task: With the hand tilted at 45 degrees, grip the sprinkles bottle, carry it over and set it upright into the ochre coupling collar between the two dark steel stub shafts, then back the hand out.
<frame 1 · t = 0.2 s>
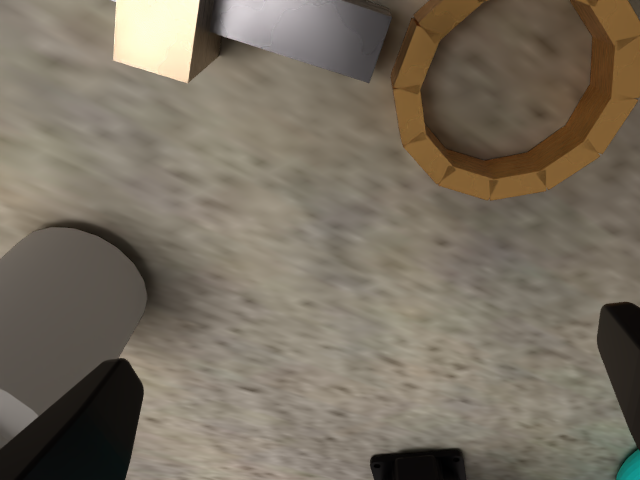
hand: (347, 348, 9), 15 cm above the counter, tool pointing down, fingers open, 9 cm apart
can: (89, 273, 28), on the counter
coupling jig: (501, 80, 20), on the counter
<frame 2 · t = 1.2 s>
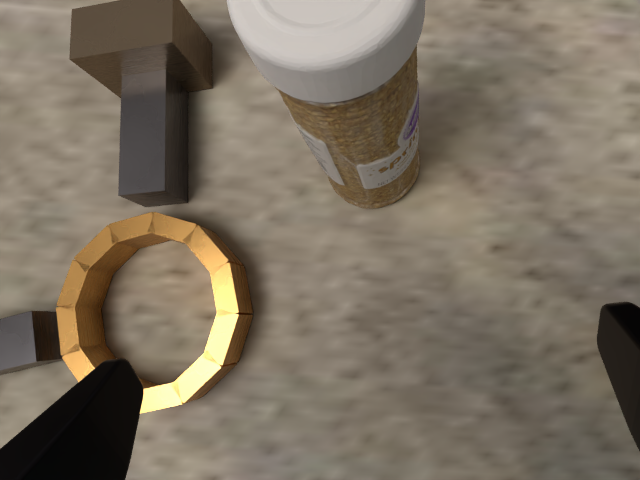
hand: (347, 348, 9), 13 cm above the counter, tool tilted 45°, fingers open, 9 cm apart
coupling jig: (165, 310, 24), on the counter
sprinkles bottle: (372, 165, 24), on the counter
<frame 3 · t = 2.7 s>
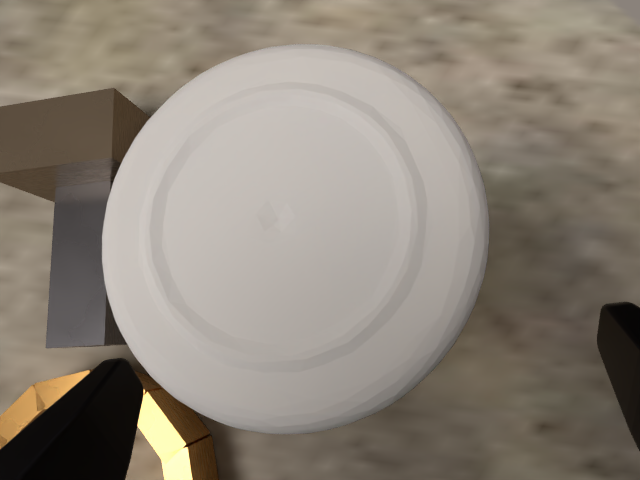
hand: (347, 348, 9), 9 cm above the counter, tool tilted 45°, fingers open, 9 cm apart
sprinkles bottle: (376, 303, 18), on the counter
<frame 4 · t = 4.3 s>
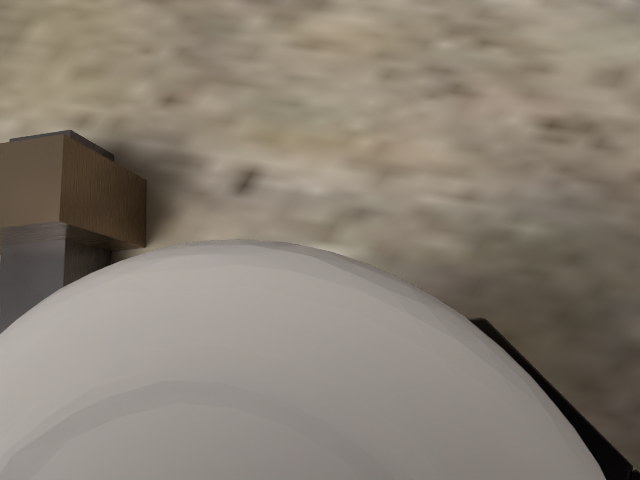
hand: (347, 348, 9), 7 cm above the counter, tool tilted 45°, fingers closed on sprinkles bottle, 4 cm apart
sprinkles bottle: (382, 385, 15), on the counter, touching gripper
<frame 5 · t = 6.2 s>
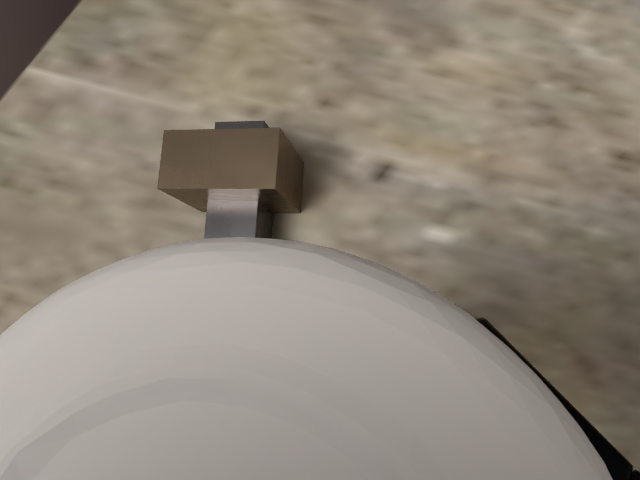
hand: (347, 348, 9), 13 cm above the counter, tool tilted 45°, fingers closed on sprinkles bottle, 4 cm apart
coupling jig: (229, 459, 22), on the counter
sprinkles bottle: (383, 384, 15), point 6 cm above the counter, touching gripper
when the fingers open (8 cm above the counter, at t = 8.6 s): sprinkles bottle drops 1 cm, resting in coupling jig.
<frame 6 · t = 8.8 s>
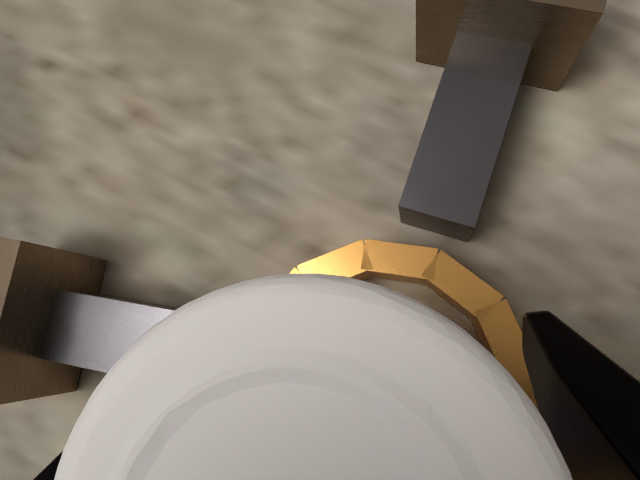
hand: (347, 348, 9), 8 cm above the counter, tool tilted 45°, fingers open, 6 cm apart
coupling jig: (384, 381, 17), on the counter
sprinkles bottle: (383, 387, 17), resting in coupling jig
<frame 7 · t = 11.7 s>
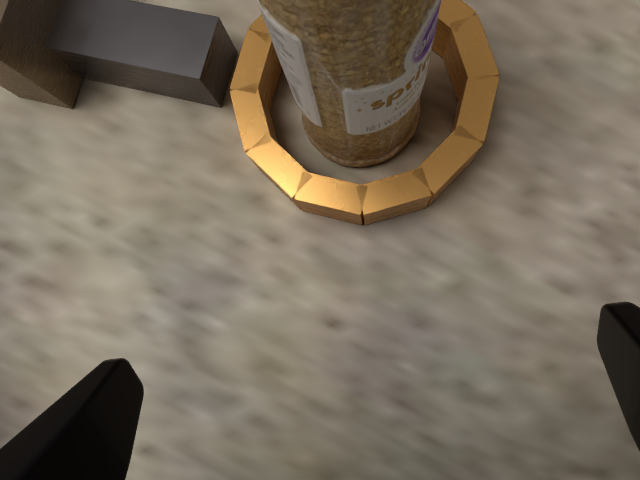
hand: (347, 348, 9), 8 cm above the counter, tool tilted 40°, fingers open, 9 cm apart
coupling jig: (361, 107, 19), on the counter
sprinkles bottle: (360, 114, 19), resting in coupling jig
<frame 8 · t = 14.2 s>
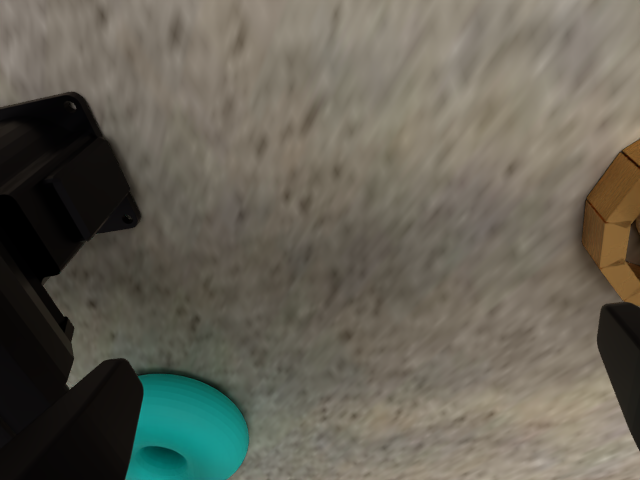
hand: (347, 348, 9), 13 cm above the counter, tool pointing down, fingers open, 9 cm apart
donuts: (179, 412, 32), on the counter
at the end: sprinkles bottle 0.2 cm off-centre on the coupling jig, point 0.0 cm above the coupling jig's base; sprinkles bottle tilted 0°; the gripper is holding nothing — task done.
